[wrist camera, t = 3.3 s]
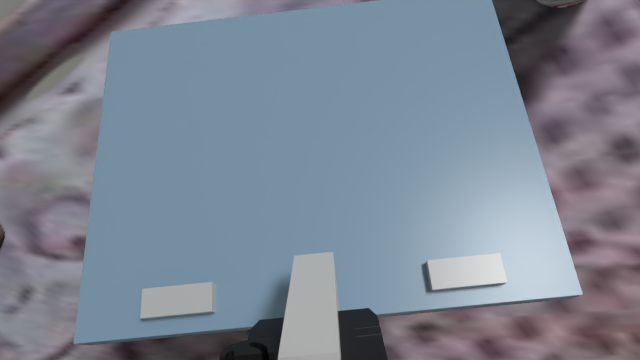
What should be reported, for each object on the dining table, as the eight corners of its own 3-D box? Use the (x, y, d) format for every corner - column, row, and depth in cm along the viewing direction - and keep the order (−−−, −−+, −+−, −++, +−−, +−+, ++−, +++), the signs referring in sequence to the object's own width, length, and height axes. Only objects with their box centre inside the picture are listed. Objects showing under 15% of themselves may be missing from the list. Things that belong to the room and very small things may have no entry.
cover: (482, 3, 26) (490, -20, 24) (569, 298, 19) (588, 292, 18) (121, 46, 26) (106, 25, 25) (89, 345, 20) (66, 343, 18)
